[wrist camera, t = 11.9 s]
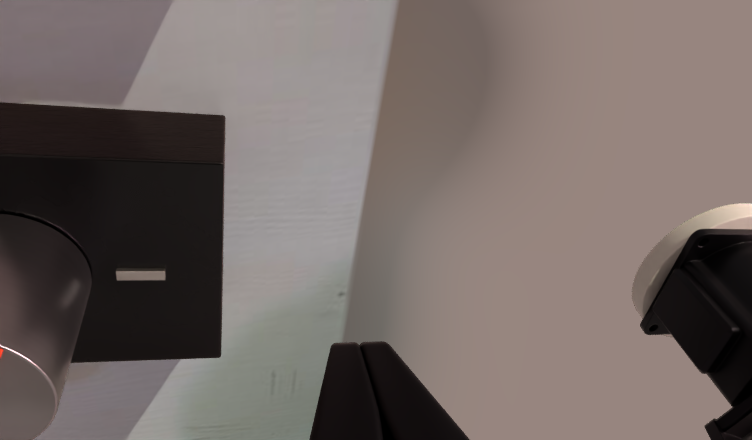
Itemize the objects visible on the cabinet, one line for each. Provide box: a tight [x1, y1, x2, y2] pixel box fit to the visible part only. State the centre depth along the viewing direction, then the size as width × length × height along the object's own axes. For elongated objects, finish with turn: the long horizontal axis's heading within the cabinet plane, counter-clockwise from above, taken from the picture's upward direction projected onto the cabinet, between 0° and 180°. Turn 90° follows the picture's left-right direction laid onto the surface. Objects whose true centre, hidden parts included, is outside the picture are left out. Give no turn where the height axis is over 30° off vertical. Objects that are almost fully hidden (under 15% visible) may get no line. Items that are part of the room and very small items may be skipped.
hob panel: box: [0, 103, 225, 363], centre depth 19 cm, size 12×9×3 cm
